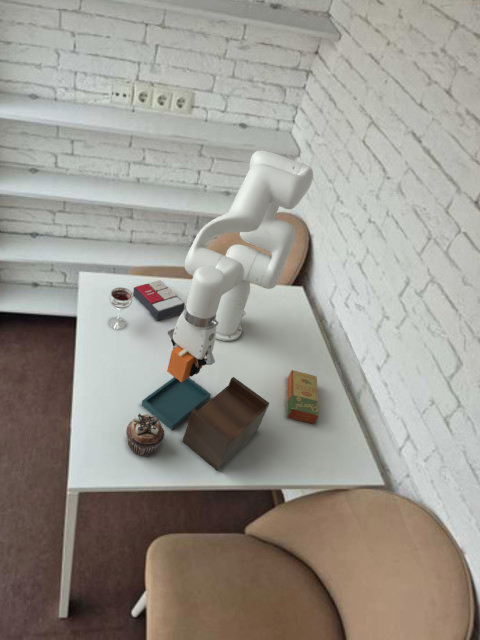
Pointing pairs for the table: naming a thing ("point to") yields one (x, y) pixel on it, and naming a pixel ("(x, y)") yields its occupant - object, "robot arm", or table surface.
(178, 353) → the packet
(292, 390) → the carton
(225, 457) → the shelf
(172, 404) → the tray
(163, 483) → the table surface
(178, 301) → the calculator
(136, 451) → the cupcake
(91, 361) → the table surface
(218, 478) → the table surface
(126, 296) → the wineglass
